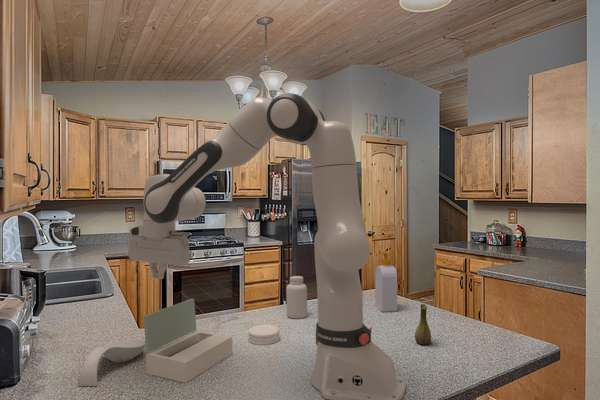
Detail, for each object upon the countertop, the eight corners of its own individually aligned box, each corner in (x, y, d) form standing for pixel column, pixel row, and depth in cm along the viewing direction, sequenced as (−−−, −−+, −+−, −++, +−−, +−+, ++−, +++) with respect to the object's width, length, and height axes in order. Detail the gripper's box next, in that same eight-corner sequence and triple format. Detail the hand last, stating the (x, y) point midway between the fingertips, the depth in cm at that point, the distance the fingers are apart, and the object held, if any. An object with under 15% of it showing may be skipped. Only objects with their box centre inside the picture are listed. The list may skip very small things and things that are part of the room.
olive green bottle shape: (426, 347, 118) (426, 308, 118) (411, 343, 121) (410, 305, 121) (434, 342, 122) (434, 304, 122) (419, 338, 125) (419, 301, 125)
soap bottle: (373, 306, 164) (373, 251, 164) (389, 305, 164) (389, 251, 164) (380, 312, 155) (380, 254, 155) (397, 311, 155) (397, 254, 155)
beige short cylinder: (242, 342, 123) (242, 331, 123) (258, 332, 132) (258, 322, 132) (269, 347, 119) (269, 336, 119) (284, 337, 128) (284, 326, 128)
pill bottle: (294, 311, 156) (294, 274, 156) (311, 315, 152) (311, 276, 152) (282, 316, 150) (282, 277, 150) (299, 320, 145) (299, 280, 145)
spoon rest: (114, 350, 118) (114, 326, 118) (152, 350, 118) (152, 326, 118) (64, 387, 95) (63, 358, 95) (111, 388, 94) (111, 358, 94)
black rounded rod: (202, 348, 115) (204, 342, 115) (168, 367, 102) (169, 360, 102) (197, 345, 116) (198, 339, 115) (162, 363, 103) (164, 356, 103)
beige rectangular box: (232, 353, 114) (232, 336, 114) (185, 383, 96) (185, 362, 96) (196, 346, 120) (196, 330, 120) (146, 373, 101) (146, 354, 101)
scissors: (240, 315, 151) (224, 332, 131) (240, 317, 151) (224, 334, 131) (213, 314, 152) (194, 331, 132) (213, 316, 152) (194, 334, 132)
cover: (194, 298, 119) (192, 298, 120) (145, 315, 102) (143, 315, 102) (196, 330, 119) (194, 330, 119) (148, 352, 102) (146, 352, 102)
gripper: (195, 231, 111) (194, 280, 111) (141, 227, 120) (140, 273, 120) (179, 233, 105) (178, 284, 105) (124, 229, 114) (123, 276, 114)
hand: (157, 278), depth 112 cm, fingers closed
